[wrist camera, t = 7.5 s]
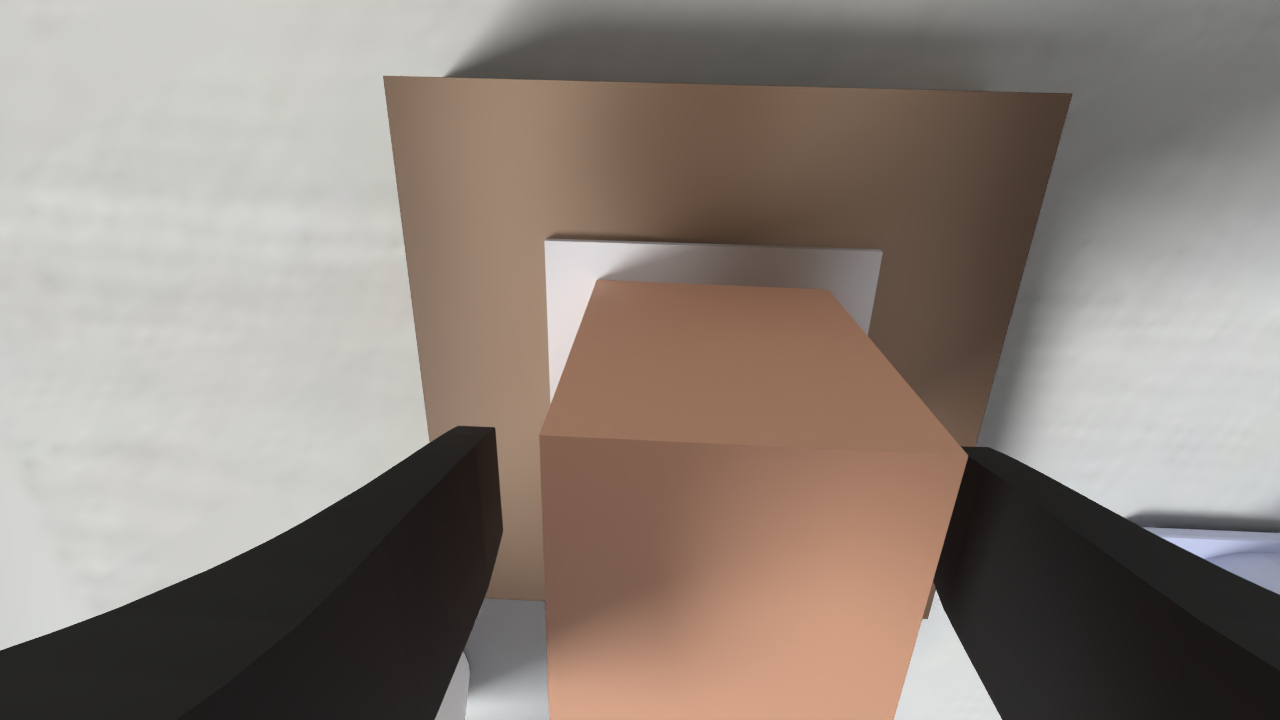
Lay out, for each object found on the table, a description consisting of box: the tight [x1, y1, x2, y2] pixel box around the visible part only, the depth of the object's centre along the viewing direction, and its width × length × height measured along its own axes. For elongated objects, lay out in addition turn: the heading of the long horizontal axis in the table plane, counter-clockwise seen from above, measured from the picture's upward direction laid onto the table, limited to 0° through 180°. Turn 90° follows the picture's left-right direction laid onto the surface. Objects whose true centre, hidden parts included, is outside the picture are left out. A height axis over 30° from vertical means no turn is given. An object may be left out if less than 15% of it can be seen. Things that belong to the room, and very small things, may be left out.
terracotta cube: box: [539, 280, 968, 720], centre depth 10 cm, size 4×4×6 cm
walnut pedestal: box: [383, 76, 1072, 619], centre depth 14 cm, size 12×12×3 cm
